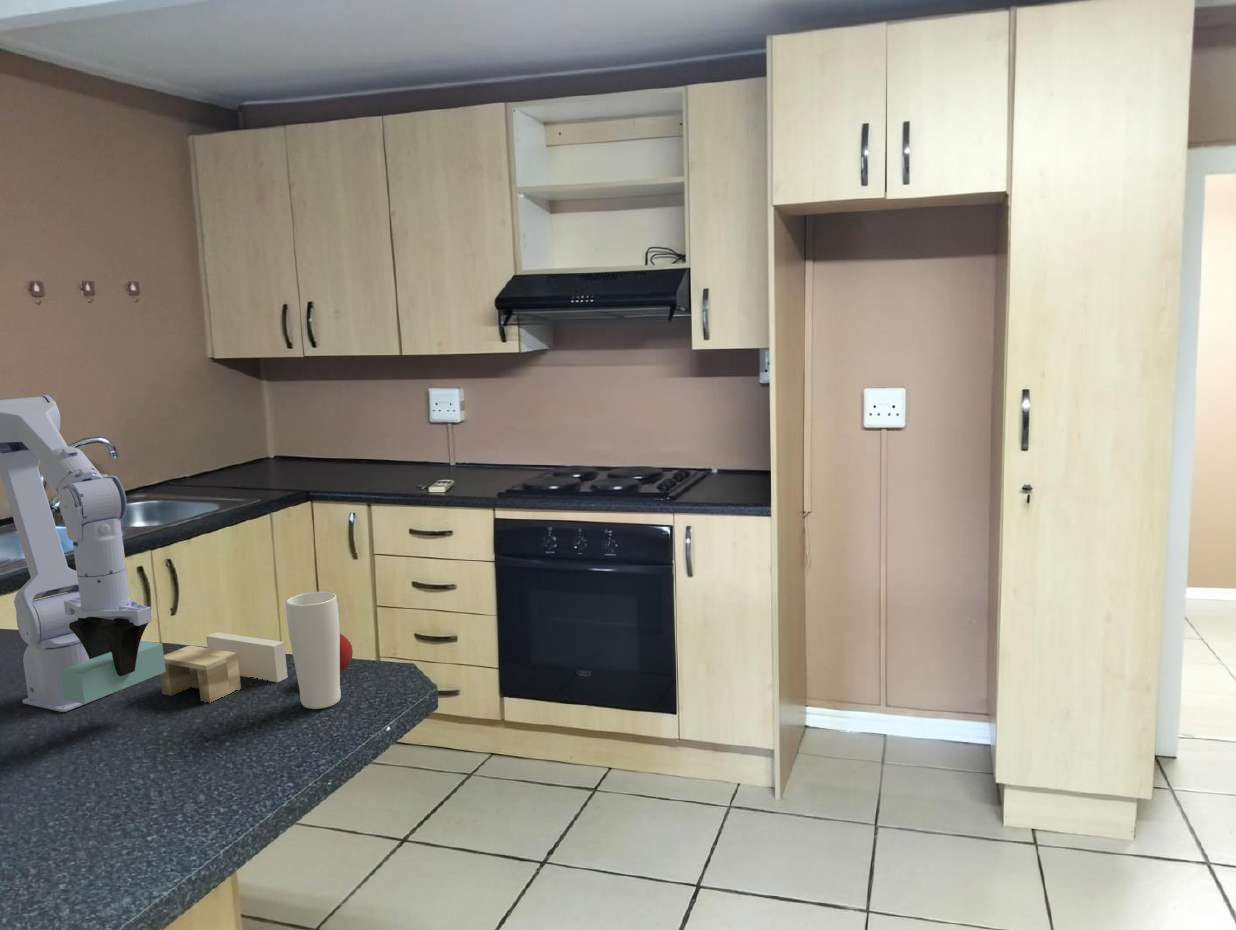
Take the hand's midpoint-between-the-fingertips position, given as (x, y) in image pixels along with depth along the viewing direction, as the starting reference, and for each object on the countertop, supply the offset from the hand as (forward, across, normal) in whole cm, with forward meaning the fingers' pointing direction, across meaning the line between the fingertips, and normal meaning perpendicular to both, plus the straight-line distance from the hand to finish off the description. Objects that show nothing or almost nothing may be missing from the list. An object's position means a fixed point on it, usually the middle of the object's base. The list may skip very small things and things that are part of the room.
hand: (114, 671), depth 131 cm
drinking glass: (+8, +20, +16) cm, 27 cm away
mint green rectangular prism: (+2, 0, 0) cm, 2 cm away
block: (+8, 0, +13) cm, 15 cm away
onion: (+8, +15, +24) cm, 29 cm away
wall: (+8, +1, +21) cm, 22 cm away
